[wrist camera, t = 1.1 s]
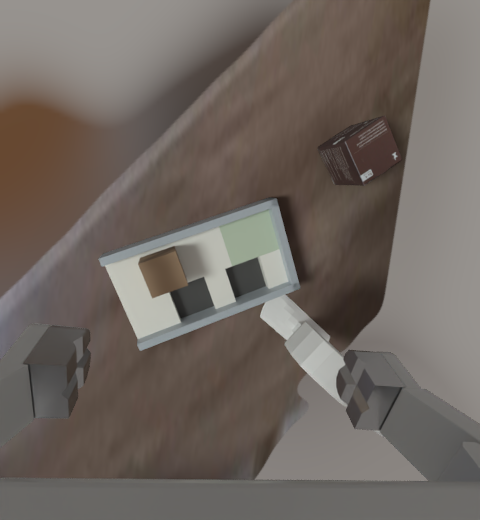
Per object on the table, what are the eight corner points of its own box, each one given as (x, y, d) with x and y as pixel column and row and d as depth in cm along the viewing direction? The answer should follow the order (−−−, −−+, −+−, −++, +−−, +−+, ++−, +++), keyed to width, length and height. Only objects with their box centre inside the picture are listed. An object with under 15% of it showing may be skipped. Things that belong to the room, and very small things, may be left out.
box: (351, 124, 44) (386, 113, 38) (367, 163, 46) (404, 159, 39) (315, 147, 44) (344, 140, 37) (333, 186, 46) (364, 186, 39)
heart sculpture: (337, 343, 52) (422, 421, 35) (316, 365, 52) (390, 454, 35) (274, 283, 47) (336, 340, 30) (250, 309, 47) (299, 380, 30)
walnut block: (174, 245, 41) (175, 251, 38) (186, 277, 42) (188, 285, 39) (140, 257, 40) (138, 264, 37) (153, 289, 42) (152, 298, 38)
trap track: (269, 197, 44) (276, 198, 41) (292, 282, 48) (300, 288, 45) (102, 253, 41) (98, 258, 38) (141, 340, 44) (140, 351, 41)
